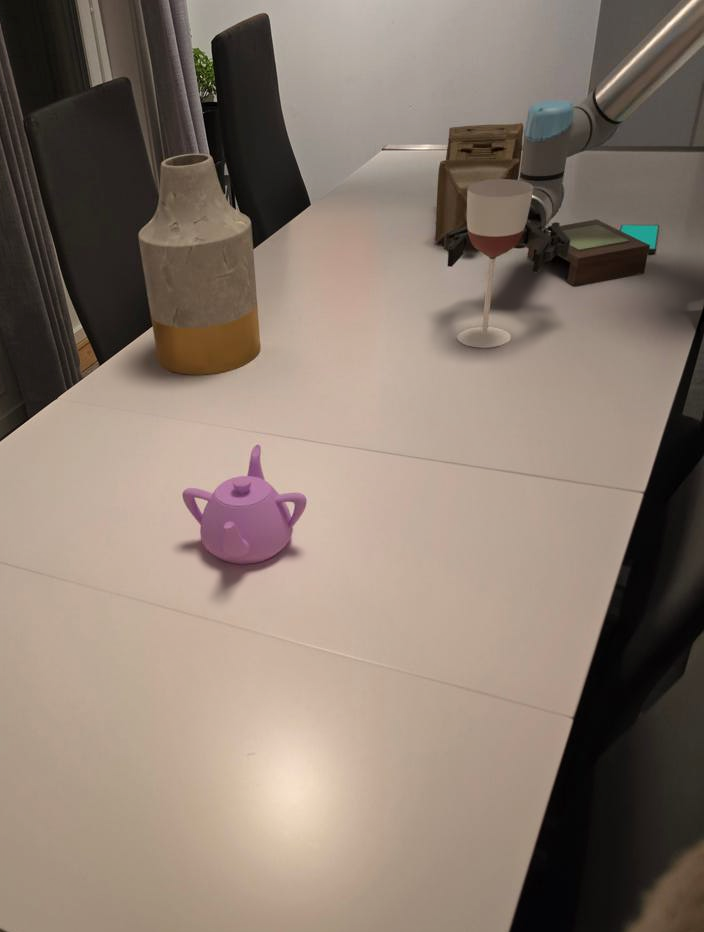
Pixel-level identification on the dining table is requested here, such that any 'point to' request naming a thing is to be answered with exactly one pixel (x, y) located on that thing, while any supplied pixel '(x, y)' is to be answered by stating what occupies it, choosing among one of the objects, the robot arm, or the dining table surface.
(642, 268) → the shelf
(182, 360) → the vase
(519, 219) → the wineglass
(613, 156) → the dining table surface
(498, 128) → the ornamental box
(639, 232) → the smartphone
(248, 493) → the teapot
